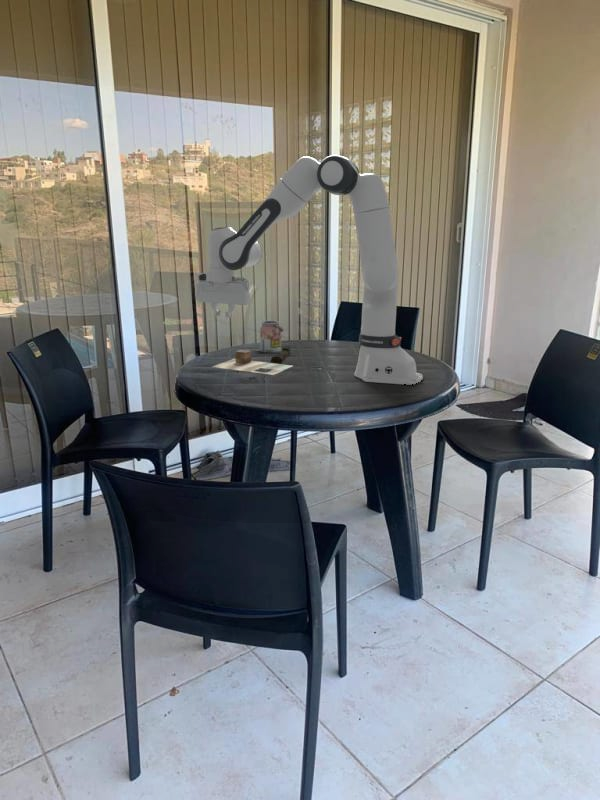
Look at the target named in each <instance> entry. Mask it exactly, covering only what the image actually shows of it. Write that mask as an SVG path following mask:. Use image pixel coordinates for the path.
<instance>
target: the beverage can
mask: <svg viewBox="0 0 600 800" xmlns="http://www.w3.org/2000/svg"><path fill="white" fill-rule="evenodd" d="M259 329H260V330H259V331H260V333H259V334H260V335H259V338H260V342H259V343H260V344H259V346H260V347H259V349H260V352H262V353H271V354H279V353H280V352H281V351H282V333H283V332H284V331H285V329H284V328H283V327H282V326H281V325H280V322H279V321H277V320H263V321H262V323H261V327H260V328H259Z"/></svg>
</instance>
